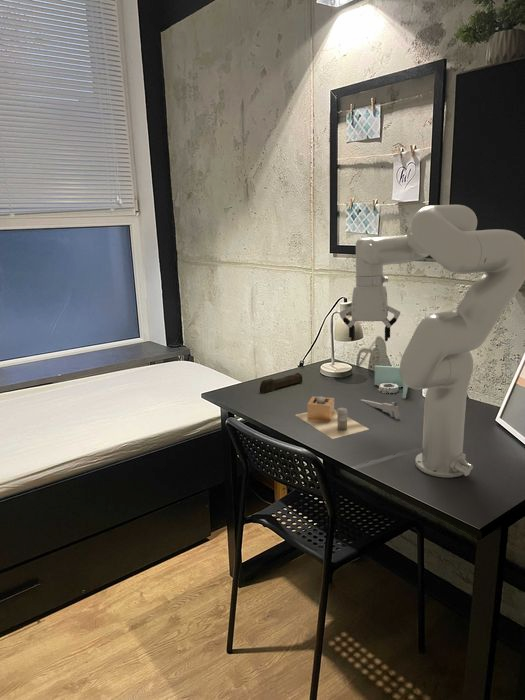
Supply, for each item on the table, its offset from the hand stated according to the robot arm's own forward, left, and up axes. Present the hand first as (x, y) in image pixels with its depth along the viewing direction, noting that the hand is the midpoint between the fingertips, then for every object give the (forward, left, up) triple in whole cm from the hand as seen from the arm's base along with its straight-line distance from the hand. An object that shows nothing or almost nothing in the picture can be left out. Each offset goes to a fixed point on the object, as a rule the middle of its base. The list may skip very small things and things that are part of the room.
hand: (369, 340), depth 151 cm
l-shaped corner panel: (+19, -24, -26) cm, 40 cm away
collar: (+10, +11, -25) cm, 29 cm away
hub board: (+5, +11, -26) cm, 28 cm away
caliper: (+6, -8, -27) cm, 28 cm away
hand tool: (+43, +7, -27) cm, 51 cm away
